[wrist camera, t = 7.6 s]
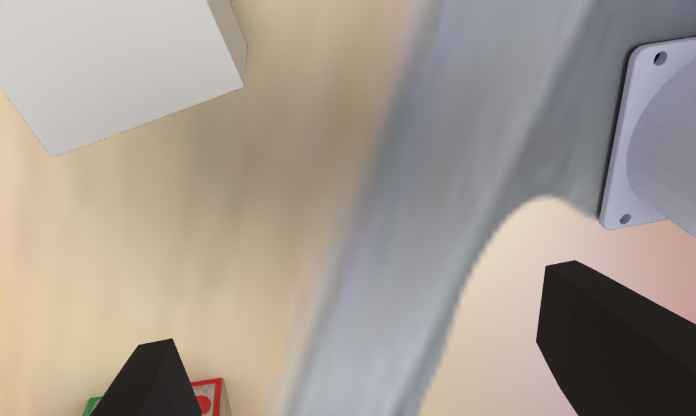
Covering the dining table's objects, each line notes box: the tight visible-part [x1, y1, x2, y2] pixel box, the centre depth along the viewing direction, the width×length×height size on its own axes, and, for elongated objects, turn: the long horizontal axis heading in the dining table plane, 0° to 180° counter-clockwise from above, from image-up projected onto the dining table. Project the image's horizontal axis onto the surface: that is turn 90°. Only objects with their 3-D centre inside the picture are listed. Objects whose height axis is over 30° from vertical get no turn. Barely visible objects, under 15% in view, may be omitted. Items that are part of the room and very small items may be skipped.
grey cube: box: [0, 0, 248, 158], centre depth 12 cm, size 5×5×5 cm
